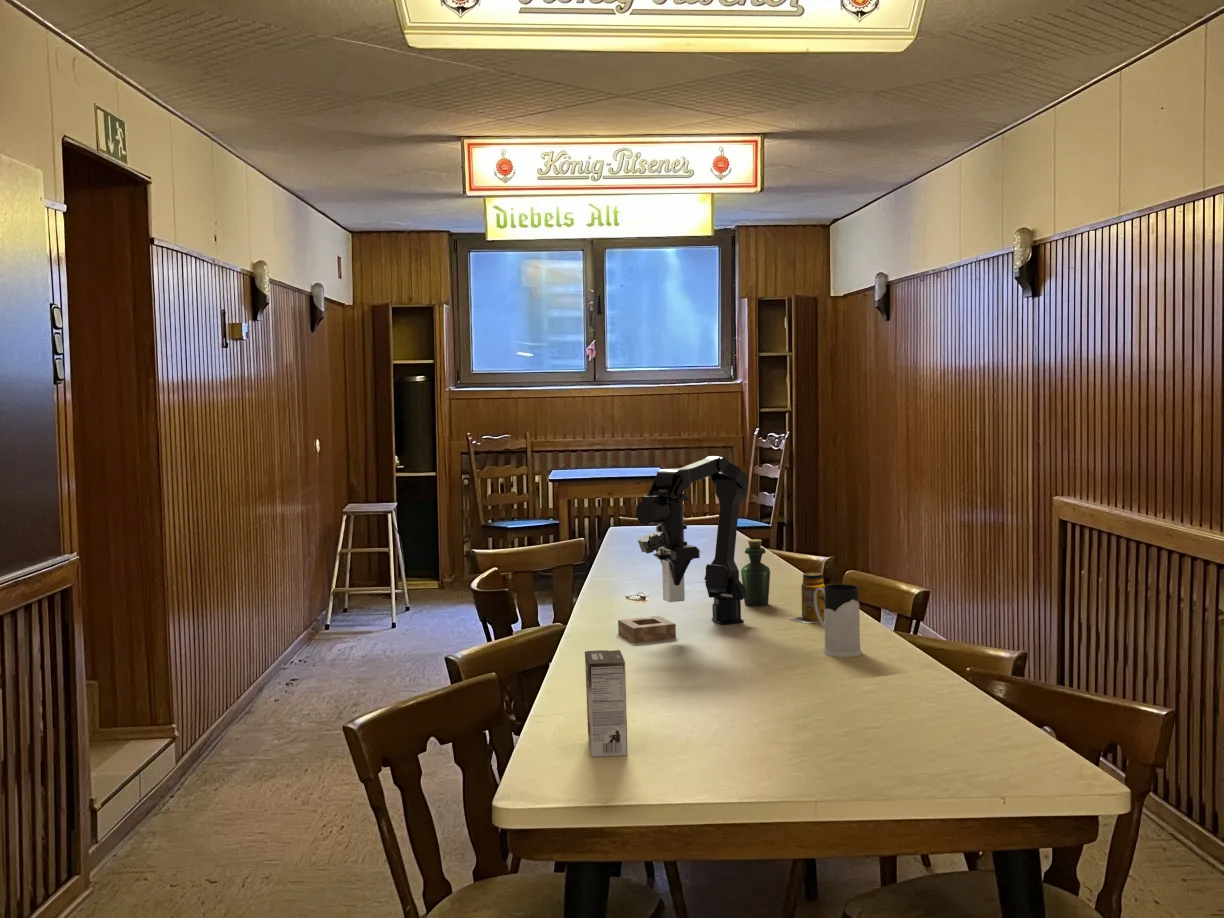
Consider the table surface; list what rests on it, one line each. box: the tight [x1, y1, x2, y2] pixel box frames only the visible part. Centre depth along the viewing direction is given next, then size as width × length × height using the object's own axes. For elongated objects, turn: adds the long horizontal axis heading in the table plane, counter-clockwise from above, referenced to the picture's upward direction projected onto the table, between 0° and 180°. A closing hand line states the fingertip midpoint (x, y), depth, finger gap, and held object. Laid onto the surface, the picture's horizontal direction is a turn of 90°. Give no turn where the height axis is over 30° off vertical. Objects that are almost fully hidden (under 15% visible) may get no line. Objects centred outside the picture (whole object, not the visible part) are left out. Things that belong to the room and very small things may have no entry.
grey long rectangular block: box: [661, 559, 686, 603], centre depth 278 cm, size 4×4×10 cm
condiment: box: [789, 572, 826, 624], centre depth 294 cm, size 7×8×12 cm
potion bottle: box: [740, 538, 771, 607], centre depth 317 cm, size 8×8×18 cm
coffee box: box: [584, 649, 628, 758], centre depth 195 cm, size 9×6×16 cm
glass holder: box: [814, 583, 863, 658], centre depth 260 cm, size 9×14×15 cm, turn 27°
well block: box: [617, 615, 677, 643], centre depth 281 cm, size 11×11×4 cm
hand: (673, 584), depth 278 cm, fingers closed on grey long rectangular block, 4 cm apart
